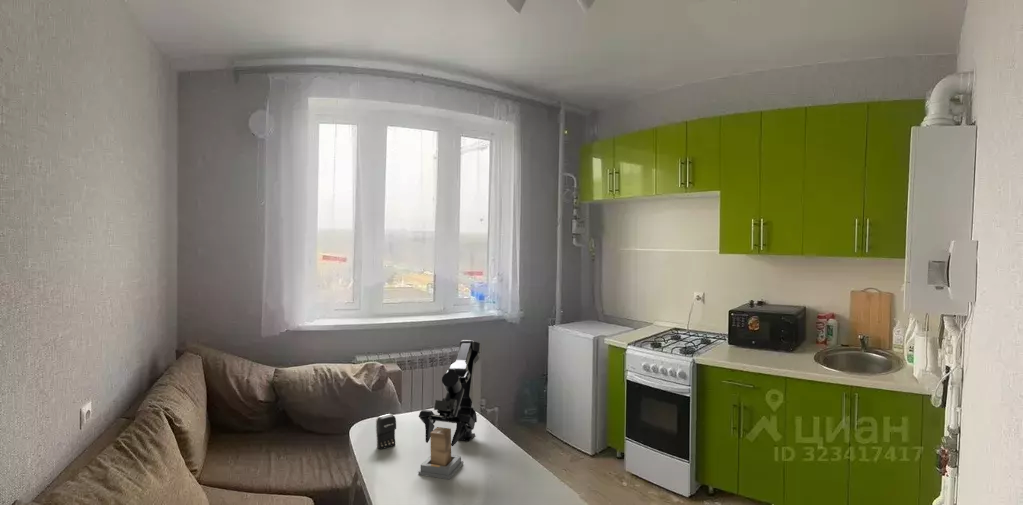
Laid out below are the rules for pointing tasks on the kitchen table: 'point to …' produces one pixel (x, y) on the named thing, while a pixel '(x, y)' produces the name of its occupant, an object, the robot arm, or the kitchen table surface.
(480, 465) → the kitchen table surface
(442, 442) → the tall cardboard box
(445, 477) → the square gray tray
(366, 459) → the kitchen table surface
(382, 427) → the battery charger
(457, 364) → the robot arm
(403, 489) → the kitchen table surface
